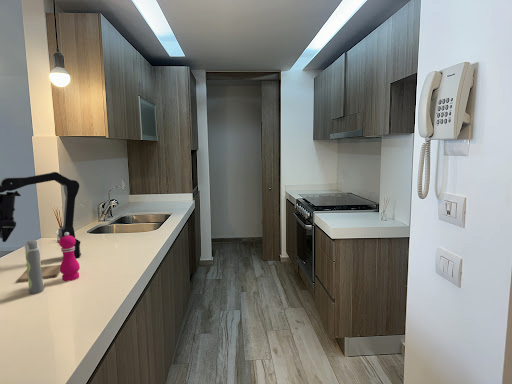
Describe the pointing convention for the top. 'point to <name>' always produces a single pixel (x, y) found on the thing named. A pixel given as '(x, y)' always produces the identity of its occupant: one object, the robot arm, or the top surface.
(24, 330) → the top surface
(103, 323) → the top surface
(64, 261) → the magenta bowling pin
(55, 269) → the taupe cutting board
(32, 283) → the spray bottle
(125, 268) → the top surface
